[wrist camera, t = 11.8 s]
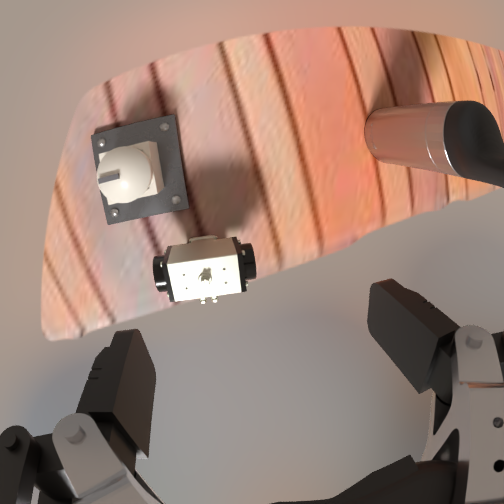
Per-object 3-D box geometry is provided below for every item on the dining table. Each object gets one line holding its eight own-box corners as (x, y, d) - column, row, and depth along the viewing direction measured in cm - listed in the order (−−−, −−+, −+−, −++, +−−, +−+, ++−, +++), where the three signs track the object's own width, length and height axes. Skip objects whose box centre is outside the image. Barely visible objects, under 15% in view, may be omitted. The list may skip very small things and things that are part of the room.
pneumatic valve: (161, 236, 40) (147, 270, 29) (242, 225, 41) (257, 254, 30) (168, 272, 42) (158, 315, 31) (246, 261, 43) (261, 300, 32)
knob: (156, 142, 34) (144, 140, 26) (164, 187, 37) (153, 197, 29) (113, 153, 34) (90, 154, 26) (121, 196, 36) (101, 209, 28)
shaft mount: (175, 115, 34) (170, 109, 29) (189, 207, 39) (187, 216, 34) (93, 135, 33) (76, 134, 28) (109, 223, 38) (96, 235, 32)
